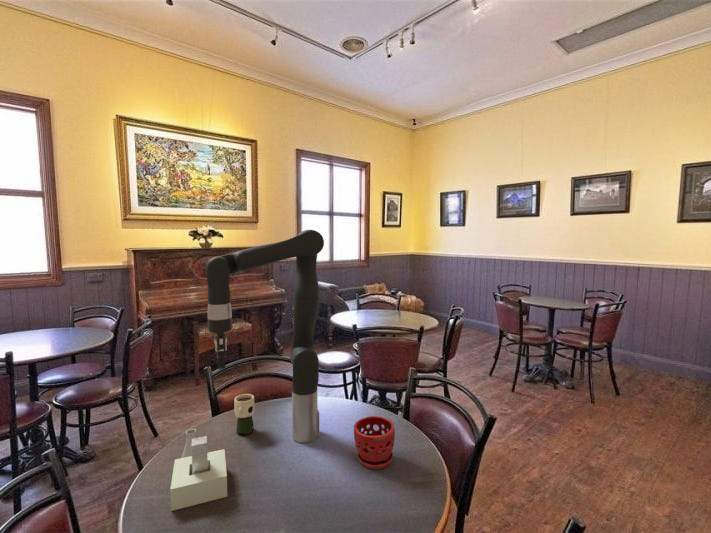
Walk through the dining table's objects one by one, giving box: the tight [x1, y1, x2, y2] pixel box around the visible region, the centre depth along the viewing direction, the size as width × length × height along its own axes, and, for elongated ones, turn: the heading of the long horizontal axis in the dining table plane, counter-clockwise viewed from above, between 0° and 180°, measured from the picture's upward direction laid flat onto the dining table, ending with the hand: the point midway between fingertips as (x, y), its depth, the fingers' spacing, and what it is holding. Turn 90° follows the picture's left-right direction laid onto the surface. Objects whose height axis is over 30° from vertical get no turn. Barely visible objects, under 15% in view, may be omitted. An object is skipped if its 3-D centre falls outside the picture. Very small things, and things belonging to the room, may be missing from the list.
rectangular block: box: [192, 435, 208, 475], centre depth 103 cm, size 4×4×14 cm
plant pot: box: [353, 415, 396, 470], centre depth 115 cm, size 13×13×12 cm
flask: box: [180, 428, 198, 458], centre depth 116 cm, size 7×7×10 cm
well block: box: [169, 448, 228, 512], centre depth 103 cm, size 14×14×6 cm
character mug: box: [233, 393, 256, 435], centre depth 133 cm, size 11×7×13 cm, turn 178°
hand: (221, 364), depth 120 cm, fingers open, 8 cm apart
